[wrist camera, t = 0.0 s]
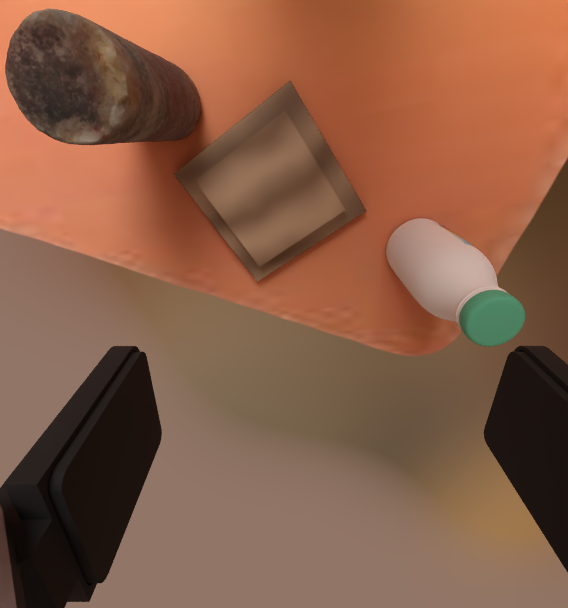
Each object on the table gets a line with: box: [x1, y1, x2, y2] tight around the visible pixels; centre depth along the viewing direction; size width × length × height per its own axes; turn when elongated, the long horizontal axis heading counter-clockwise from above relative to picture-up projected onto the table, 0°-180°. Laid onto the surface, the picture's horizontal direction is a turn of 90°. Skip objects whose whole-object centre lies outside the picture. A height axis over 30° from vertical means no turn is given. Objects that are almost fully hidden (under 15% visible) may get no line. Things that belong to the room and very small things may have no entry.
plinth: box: [174, 81, 366, 282], centre depth 42 cm, size 16×16×4 cm
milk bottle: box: [386, 218, 525, 347], centre depth 37 cm, size 8×8×20 cm
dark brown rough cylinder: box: [5, 9, 201, 145], centre depth 30 cm, size 8×7×20 cm
